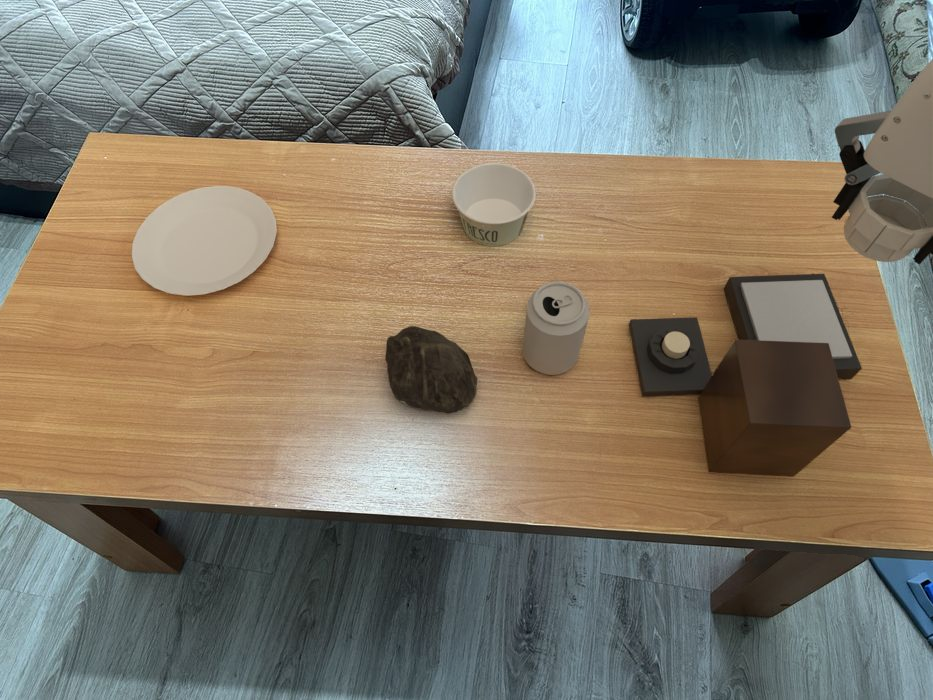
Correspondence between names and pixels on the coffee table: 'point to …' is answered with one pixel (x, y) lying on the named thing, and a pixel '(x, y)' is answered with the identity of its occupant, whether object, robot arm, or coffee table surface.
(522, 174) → the food container
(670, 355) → the button
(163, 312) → the coffee table surface
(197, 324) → the coffee table surface
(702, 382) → the pad
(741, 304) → the scale
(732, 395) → the stand
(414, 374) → the rock
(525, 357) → the can
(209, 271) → the plate
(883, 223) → the bowl
